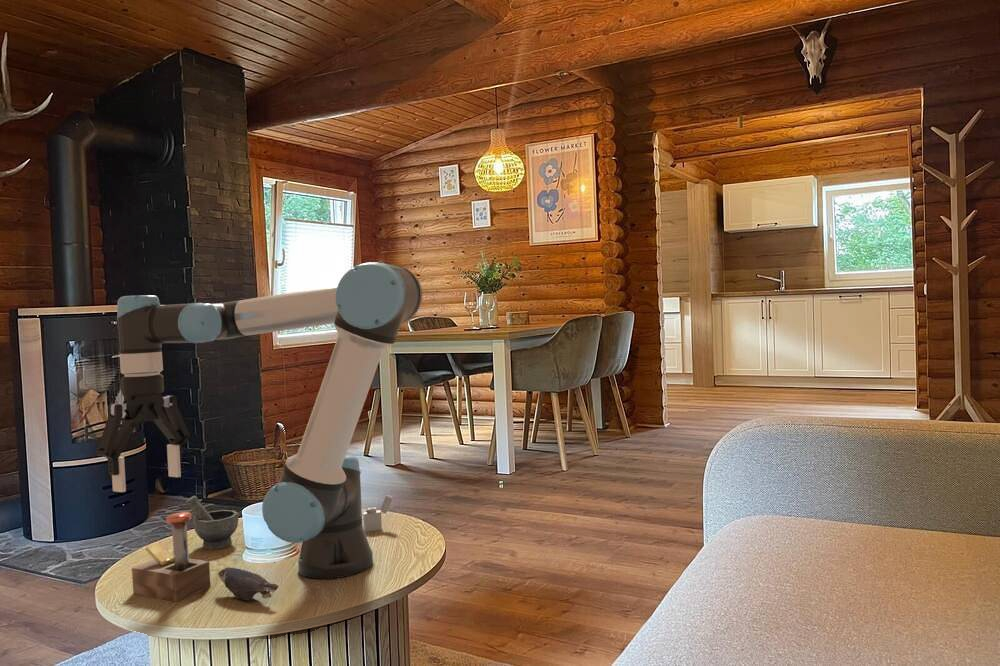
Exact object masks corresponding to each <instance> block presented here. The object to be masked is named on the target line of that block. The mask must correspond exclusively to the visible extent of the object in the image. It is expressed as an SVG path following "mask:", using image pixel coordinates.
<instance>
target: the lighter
mask: <svg viewBox="0 0 1000 666" xmlns="http://www.w3.org/2000/svg"><path fill="white" fill-rule="evenodd" d="M393 498H394V497H393V496H392V495H389V494H386V495H385V497H384V499H383V503H382V505H381V507H380V509H379V510H377V508H376V507H368V508H367V509H366V510H365V512H362V522H363V529H364V532H365V533H367V532H376V531H382V530H383V525H382V514H385V515H387V513H388V510H389V509H390V506H391V503H392V500H393Z"/></svg>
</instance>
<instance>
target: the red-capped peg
mask: <svg viewBox="0 0 1000 666" xmlns="http://www.w3.org/2000/svg"><path fill="white" fill-rule="evenodd" d="M165 518H166V524H170V525H171V531H172V533H171V535H172V544H173V545H172V546H173V556H174V566H175V571H183V570H185V569H188V568H189V559H190V556H189V539H188V525H187V523H188V522H189V521H191V520H192V513H191V512H187V511H182V512H175V513H171V514H168V515H167V516H166V517H165Z"/></svg>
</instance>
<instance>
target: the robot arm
mask: <svg viewBox="0 0 1000 666" xmlns="http://www.w3.org/2000/svg"><path fill="white" fill-rule="evenodd" d="M422 301H423V290H422V285H421V283H420V281H419V279H418V278H417V276H416V275H415V273H413V272H412V271H411V270H409V269H408V268H406V267H403V266H401V265H395V264H388V263H383V262H380V261H371V262H370V261H369V262H365V263H361V264H358V265H355V266H353V267H351V268H350V269H349V270H348V271H346V273H344V274H343V275H342V277H341V279H340V280H339V281H338V284H337V285H331V286H325V287H319V288H312V289H306V290H301V291H293V292H292V291H291V292H286V293H280V294H279V293H278V294H273V295H268V296H267V295H266V296H262V297H261V296H260V297H254V298H248V299H241V300H231V301H227V302H219V303H218V302H217V303H205V302H204V303H203V302H192V303H177V304H161V302H160V299H159V297H158V296H157V295H151V294H150V295H149V294H148V295H146V294H145V295H143V294H142V295H124V296H120V298H118V299H117V302H116V303H117V304H116V305H117V307H116V308H117V314H116V316H117V317H116V321H117V330H118V331H117V332H118V333H117V334H118V340H119V341H118V343H119V365H120V374H122V375H124V376H122V377H121V378H120V387H121V394H122V396H123V402H122V403H110V404H108V406H107V407H108V408H107V411H108V412H107V418H106V422H105V426H104V429H103V431H102V435H101V437H100V441H99V445H98V448H97V450H96V455H97V456H98V457H104V458H106V459H107V466H108V468H107V469H108V475H109V476H111V481H112V482H111V483H112V492H117V493H125V492H127V487H126V486H127V484H126V467H125V457H124V456H121V454H122V452H123V451H124V450H125V447H126V445H127V443H128V442H129V440H130V439H131V438H130V437H131V436H132V434H133V432H134V430H135V429H136V428H137V427H138V426H139V424H142V423H147V422H153V423H154V424H155V425H156V426H157V427H158V429H159V430H160V431H161V433H162V434H163V435H164V436H165V437H166V440H168V442H169V443H170V444H166V454H167V471H168V472H167V473H168V477H169V478H181V477H182V475H181V474H182V471H181V460H182V459H183V447H182V446H183V445H185V444H186V441H187V440H189V439H190V438H191V435H190V432H189V430H188V428H187V425H186V423H185V421H184V418H183V416H182V414H181V411H180V409H179V406H178V399H177V396H176V395H165V396H163V392H164V390H165V386H164V385H165V383H164V382H165V381H164V375H163V374H162V373H161V372H162V371H164V364H163V352H162V351H163V350H162V346H163V345H162V344H182V343H183V344H187V343H189V344H191V343H192V344H199V343H200V344H202V343H203V344H204V343H210V342H213V341H216V340H231V339H236V338H242V337H246V336H253V335H261V334H267V333H275V332H282V331H288V330H289V331H290V330H297V329H303V328H310V327H318V326H325V325H331V324H333V326H334V327H335V330H336V332H337V338H336V342H335V344H334V347H333V350H332V353H331V355H330V359H329V362H328V365H327V368H326V370H325V373H324V376H323V378H322V382H321V385H320V388H319V390H318V394H317V396H316V398H315V402H314V405H313V408H312V411H311V414H310V416H309V419H308V422H307V425H306V428H305V430H304V433H303V436H302V439H301V442H300V445H299V448H298V450H297V453H295V454H293V455H291V456H289V457H288V458H286V460H285V464H284V466H283V469H282V472H281V474H280V477H279V480H278V483H276V484H275V485H272V486H271V488H270V489H269V490H268V491H267V492H266V494H265V496H264V497H263V501H262V507H261V511H262V518H263V521H264V522H265V524H266V525H267V528H268V530H269V531H270V532H271V534H273V535H274V536H276V537H277V538H278V539H280V540H282V541H284V542H287V543H291V544H296V543H297V544H299V543H302V544H301V549H300V552H299V555H298V559H297V563H298V564H297V566H298V573H299V574H300V575H302V576H304V577H307V578H310V579H311V578H313V579H335V578H336V579H337V578H344V577H348V576H352V575H356V574H358V573H361V572H363V571H366V570H367V569H369V568H370V567H371V566H372V565H373V562H374V559H373V557H374V556H373V550H372V548H371V546H370V544H369V540H368V538H367V535H366V532H364V525H363V509H362V507H363V506H362V489H361V488H362V487H361V485H362V484H361V473H362V472H361V471H362V470H361V469H360V462H359V459H358V458H357V457H356V456H353V455H349V454H348V455H347V452H348V451H349V447H350V444H351V442H352V439H353V435H354V434H355V430H356V427H357V425H358V422H359V419H360V417H361V413H362V411H363V408H364V405H365V402H366V400H367V396H368V394H369V391H370V388H371V385H372V382H373V380H374V377H375V373H376V371H377V368H378V366H379V362H380V360H381V357H382V355H383V351H384V350H386V349H388V348H390V347H392V346H394V344H395V342H396V340H397V338H398V337H397V336H398V335H399V334H398V333H399V331H400V329H401V326H402V324H404V323H406V322H408V321H409V320H411V319H412V318H414V316H415V315H416V314H417V313H418V311H419V309H420V307H421V305H422ZM163 407H164V411H165V412H164V411H163V409H162V408H163ZM123 414H125V415H124V417H123Z"/></svg>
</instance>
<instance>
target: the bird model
mask: <svg viewBox="0 0 1000 666" xmlns="http://www.w3.org/2000/svg"><path fill="white" fill-rule="evenodd" d="M217 575H218V577H219V579H220V581H222V583H223V584H224V586H225V588H226V589H228V591H229V592H230V593H232V594H233V596H234V597H235V598H237V599H239V600H245V601H250V602H252V599H253V598H254V596H255V595H256V594H258V593H259V594H260V595H261V598H262V599H269V598H272V594H271V593H274V592H275V591H277V589H278V588H279V585H278V584H276V583H271V582H269V581H268V580H266V578H264V577H262V576H261V575H260V574H258V573H254V572H251V571H248V570H245V569H241V568H236V567H230V566H229V567H225V568H223V569H221V570H220V571H218V573H217Z"/></svg>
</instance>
